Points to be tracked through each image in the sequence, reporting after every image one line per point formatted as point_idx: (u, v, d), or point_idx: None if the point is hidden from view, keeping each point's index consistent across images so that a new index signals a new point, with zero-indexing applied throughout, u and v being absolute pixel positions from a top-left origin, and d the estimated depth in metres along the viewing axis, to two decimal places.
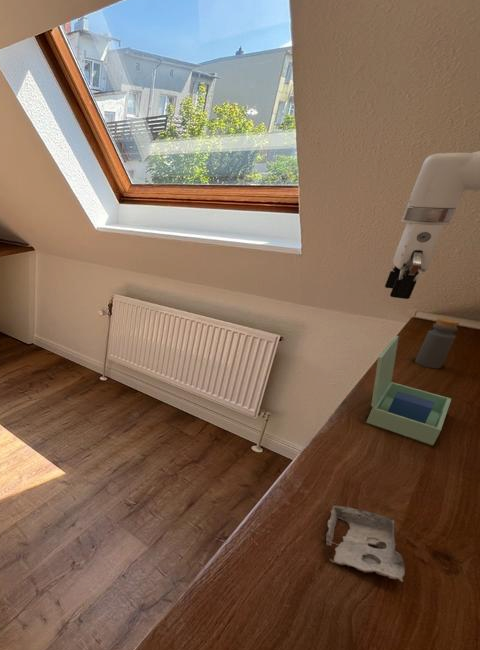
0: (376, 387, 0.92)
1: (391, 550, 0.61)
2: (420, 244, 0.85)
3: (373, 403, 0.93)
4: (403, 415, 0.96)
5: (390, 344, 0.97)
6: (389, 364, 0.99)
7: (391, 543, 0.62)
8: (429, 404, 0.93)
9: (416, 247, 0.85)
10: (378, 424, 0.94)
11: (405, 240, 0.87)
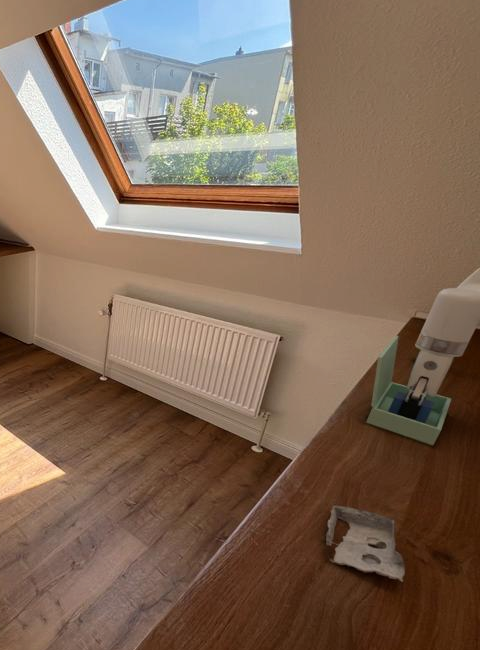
0: (376, 387, 0.92)
1: (391, 550, 0.61)
2: (426, 371, 0.89)
3: (373, 403, 0.93)
4: None
5: (390, 344, 0.97)
6: (389, 364, 0.99)
7: (391, 543, 0.62)
8: (429, 404, 0.93)
9: (423, 373, 0.89)
10: (378, 424, 0.94)
11: (415, 364, 0.91)
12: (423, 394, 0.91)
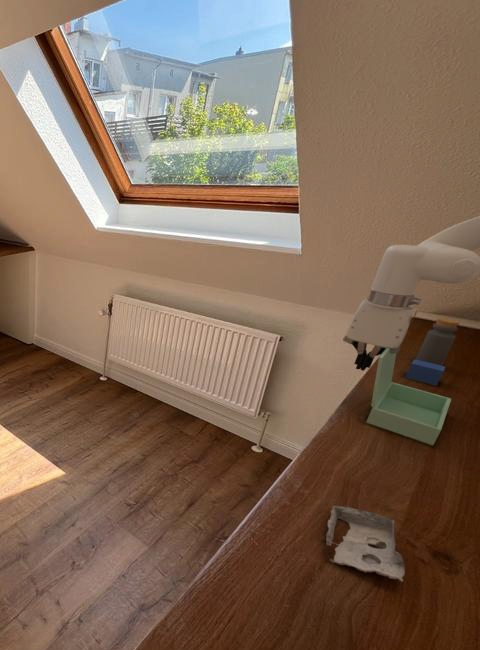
0: (376, 387, 0.92)
1: (391, 550, 0.61)
2: (408, 326, 0.93)
3: (373, 403, 0.93)
4: (419, 378, 1.14)
5: None
6: (389, 364, 0.99)
7: (391, 543, 0.62)
8: (441, 368, 1.12)
9: (406, 329, 0.93)
10: (378, 424, 0.94)
11: (395, 324, 0.93)
12: None
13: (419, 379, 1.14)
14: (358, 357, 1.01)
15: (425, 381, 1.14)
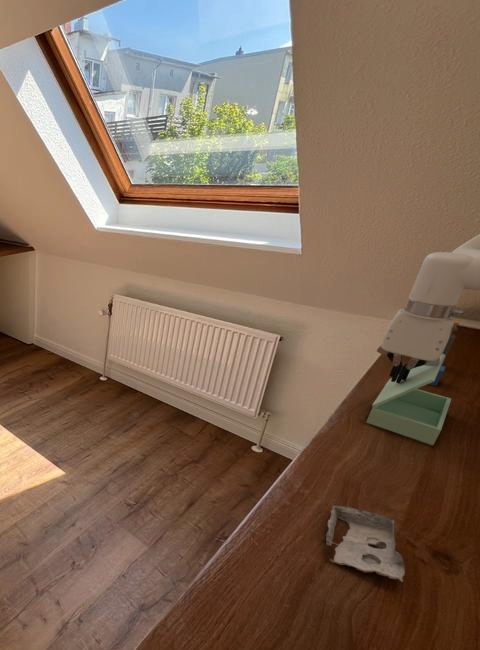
0: (395, 397, 0.90)
1: (391, 550, 0.61)
2: (448, 337, 0.88)
3: (376, 405, 0.93)
4: None
5: (440, 364, 0.91)
6: None
7: (391, 543, 0.62)
8: (441, 368, 1.12)
9: (447, 340, 0.88)
10: (378, 424, 0.94)
11: (435, 335, 0.88)
12: None
13: None
14: (393, 369, 0.96)
15: None
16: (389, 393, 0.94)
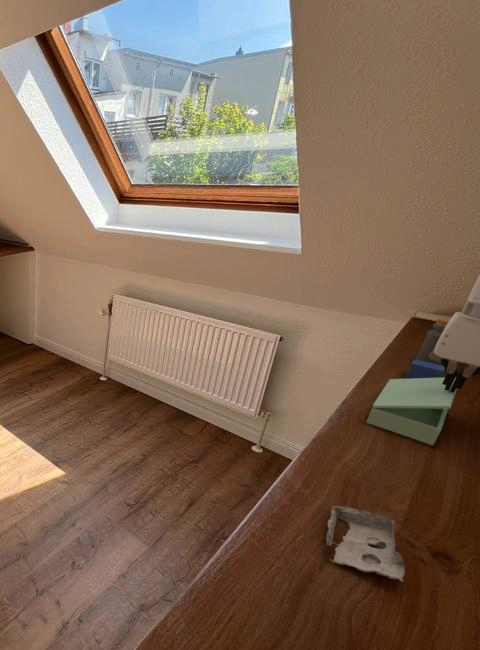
0: (401, 407, 0.90)
1: (391, 550, 0.61)
2: None
3: (377, 406, 0.93)
4: None
5: None
6: None
7: (391, 543, 0.62)
8: (441, 368, 1.12)
9: None
10: (378, 424, 0.94)
11: None
12: None
13: None
14: (447, 377, 0.89)
15: None
16: (394, 399, 0.93)
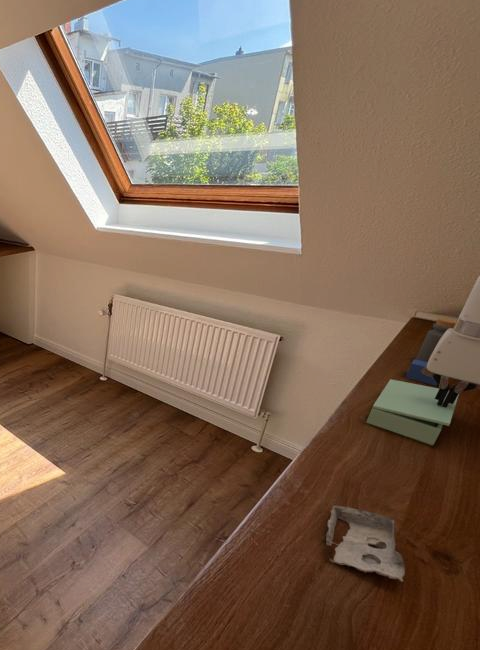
0: (401, 413, 0.90)
1: (391, 550, 0.61)
2: None
3: (377, 407, 0.93)
4: (419, 378, 1.14)
5: None
6: None
7: (391, 543, 0.62)
8: None
9: None
10: (378, 424, 0.94)
11: None
12: None
13: (419, 379, 1.14)
14: (440, 392, 0.91)
15: (425, 381, 1.14)
16: (394, 403, 0.94)
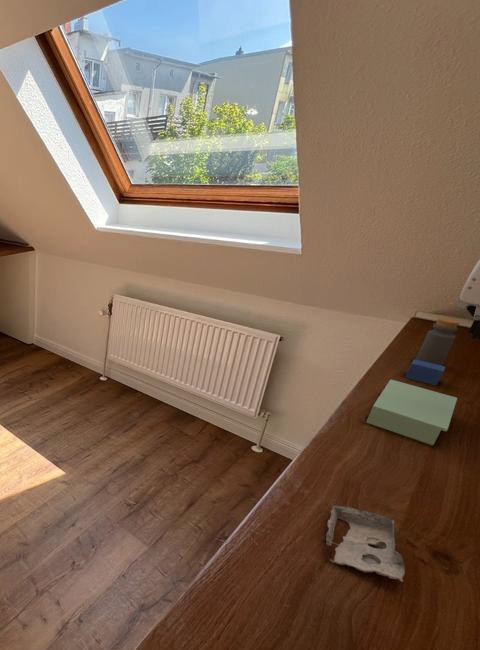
0: (400, 416, 0.90)
1: (391, 550, 0.61)
2: None
3: (377, 408, 0.93)
4: (419, 378, 1.14)
5: (452, 411, 0.92)
6: None
7: (391, 543, 0.62)
8: (441, 368, 1.12)
9: None
10: (378, 424, 0.94)
11: None
12: None
13: (419, 379, 1.14)
14: (474, 324, 0.84)
15: (425, 381, 1.14)
16: (394, 405, 0.94)
